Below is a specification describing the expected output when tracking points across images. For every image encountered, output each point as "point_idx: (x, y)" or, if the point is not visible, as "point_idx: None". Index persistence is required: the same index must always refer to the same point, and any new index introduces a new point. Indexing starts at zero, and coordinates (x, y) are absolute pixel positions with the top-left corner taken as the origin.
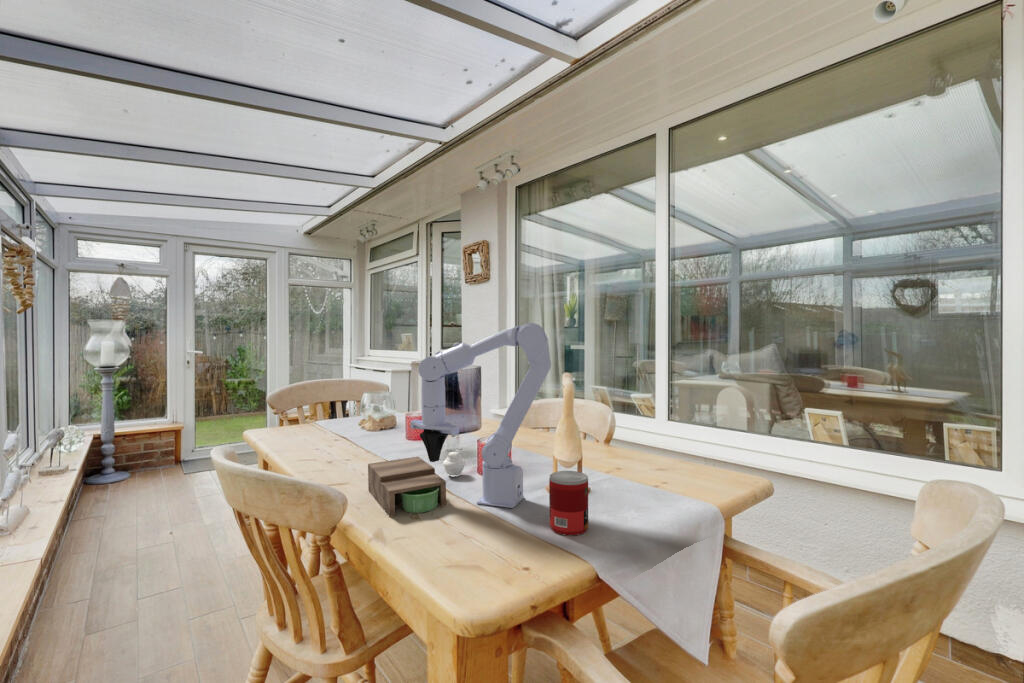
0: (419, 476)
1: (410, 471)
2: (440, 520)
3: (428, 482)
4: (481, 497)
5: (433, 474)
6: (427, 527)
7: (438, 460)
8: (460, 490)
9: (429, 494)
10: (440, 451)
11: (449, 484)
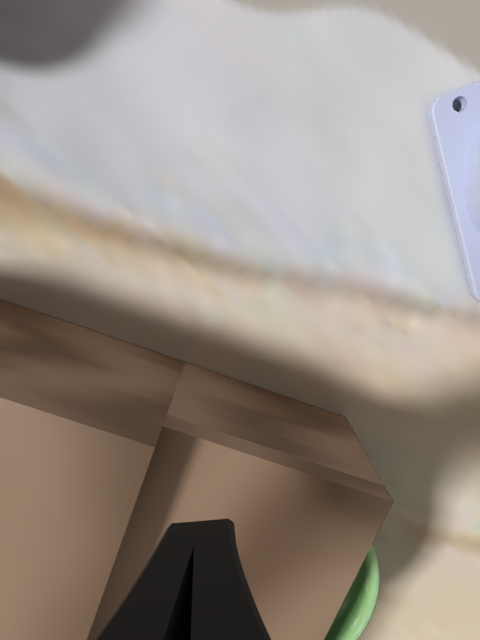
0: (141, 550)
1: (70, 619)
2: (454, 546)
3: (307, 589)
4: (464, 232)
5: (185, 457)
6: (458, 619)
7: (234, 530)
8: (227, 189)
9: (375, 600)
10: (252, 602)
11: (74, 150)
